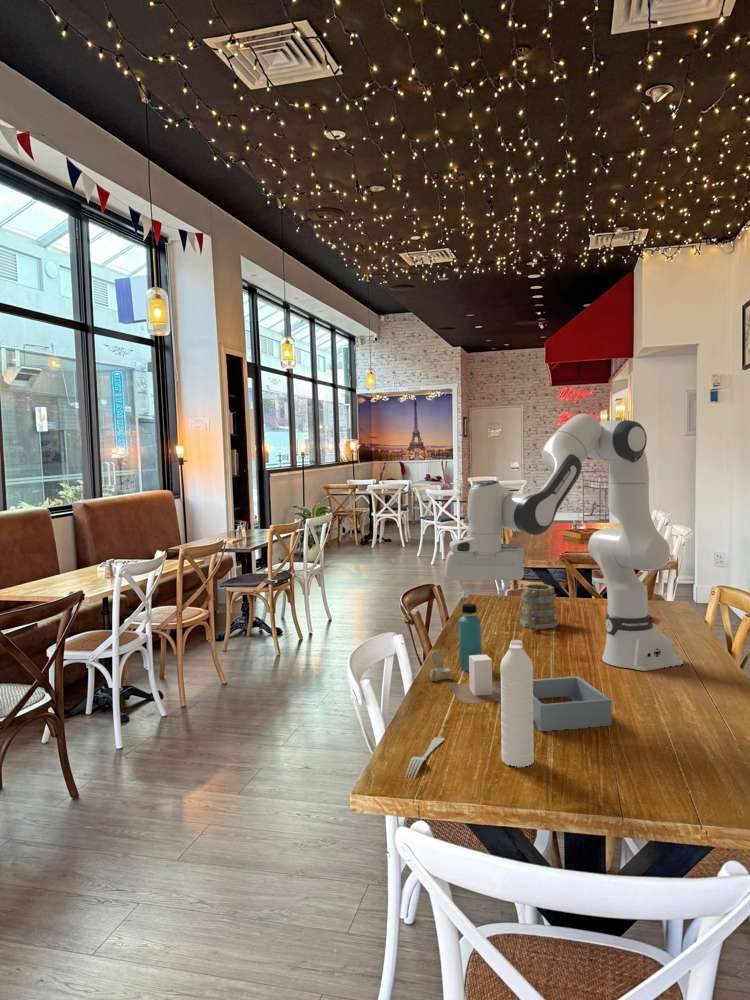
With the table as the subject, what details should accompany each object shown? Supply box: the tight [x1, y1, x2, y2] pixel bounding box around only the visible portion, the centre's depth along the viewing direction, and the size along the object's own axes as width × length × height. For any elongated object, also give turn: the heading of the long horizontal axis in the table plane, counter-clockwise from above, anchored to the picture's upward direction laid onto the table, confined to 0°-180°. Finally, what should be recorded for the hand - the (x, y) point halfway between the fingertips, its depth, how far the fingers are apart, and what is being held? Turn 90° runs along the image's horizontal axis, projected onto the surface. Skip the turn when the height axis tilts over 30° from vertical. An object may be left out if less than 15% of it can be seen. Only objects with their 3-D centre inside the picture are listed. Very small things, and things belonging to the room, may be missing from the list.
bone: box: [429, 650, 454, 682], centre depth 187 cm, size 9×6×10 cm
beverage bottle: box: [458, 603, 483, 673], centre depth 193 cm, size 6×7×20 cm
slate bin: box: [533, 675, 612, 732], centre depth 162 cm, size 17×17×6 cm
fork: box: [404, 736, 446, 780], centre depth 142 cm, size 3×21×3 cm, turn 157°
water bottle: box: [499, 639, 535, 768], centre depth 137 cm, size 9×6×25 cm
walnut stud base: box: [447, 680, 501, 705], centre depth 175 cm, size 14×14×5 cm
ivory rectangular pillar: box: [468, 654, 493, 696], centre depth 174 cm, size 5×5×9 cm
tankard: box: [519, 583, 559, 630], centre depth 242 cm, size 20×13×15 cm, turn 144°
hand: (483, 597), depth 176 cm, fingers open, 8 cm apart
